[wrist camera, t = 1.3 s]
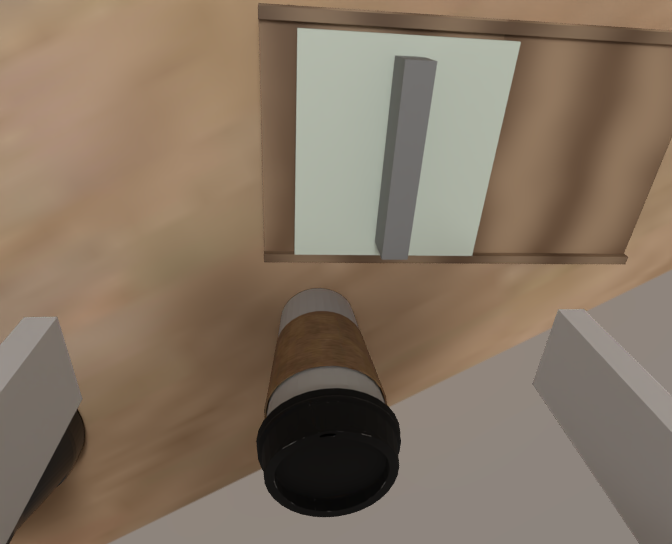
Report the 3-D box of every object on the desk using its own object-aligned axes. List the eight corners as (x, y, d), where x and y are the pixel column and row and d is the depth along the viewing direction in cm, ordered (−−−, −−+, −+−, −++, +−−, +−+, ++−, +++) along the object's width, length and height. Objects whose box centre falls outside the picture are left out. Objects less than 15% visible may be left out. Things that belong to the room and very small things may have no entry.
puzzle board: (266, 240, 33) (264, 263, 30) (261, 4, 26) (257, 2, 23) (596, 244, 36) (624, 265, 33) (676, 31, 29) (721, 33, 26)
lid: (294, 249, 30) (295, 273, 27) (297, 27, 24) (298, 29, 21) (467, 250, 31) (486, 274, 29) (514, 40, 25) (543, 44, 22)
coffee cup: (366, 268, 35) (411, 416, 22) (369, 352, 40) (409, 518, 27) (258, 279, 35) (240, 437, 22) (273, 363, 39) (265, 537, 26)
